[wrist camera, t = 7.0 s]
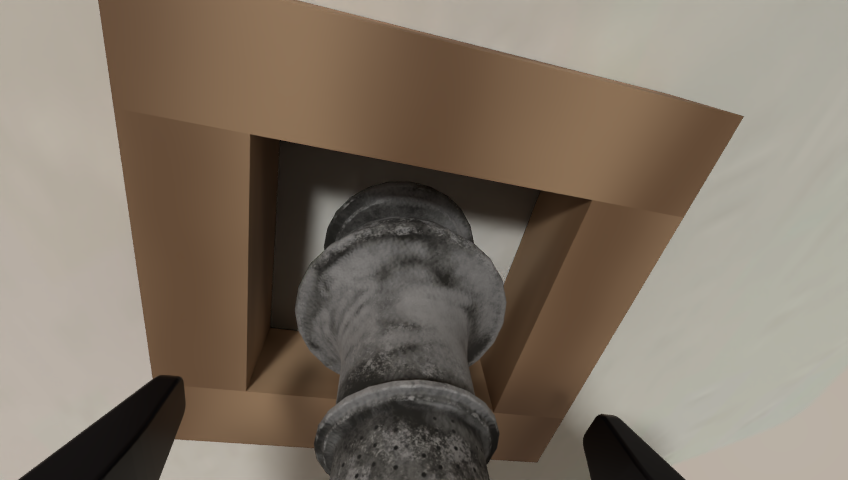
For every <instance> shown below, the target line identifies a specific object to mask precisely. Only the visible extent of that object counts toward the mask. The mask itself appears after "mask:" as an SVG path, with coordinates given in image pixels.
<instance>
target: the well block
mask: <svg viewBox="0 0 848 480" xmlns="http://www.w3.org/2000/svg"><path fill="white" fill-rule="evenodd" d="M98 2H99V9H100V16H101V23H102V30H103V37H104V44H105V51H106V58H107V65H108V71H109V78H110V85H111V92H112V99H113V106H114V113H115V120H116V127H117V134H118V141H119V148H120V155H121V162H122V169H123V176H124V182H125V189H126V196H127V203H128V210H129V217H130V224H131V231H132V238H133V245H134V252H135V259H136V266H137V273H138V280H139V287H140V294H141V300H142V307H143V314H144V321H145V328H146V335H147V342H148V349H149V356H150V363H151V370H152V377H153V379H154V378H155V377H157V376H159V375H173V376H180V377H182V378H183V381H184V389H185V400H186V407H185V412H184V416H183V418H182V421H181V424H180V426H179V429H178V431H177V434H176V437H175V439H180V440H195V441H211V442H226V443H242V444H258V445H273V446H289V447H304V448H314V440H315V436H316V432H317V428H318V424H319V423H320V422H321V420H322V419H323V418H324V416H325V415H326V413H327V412H328V411H329V410H330V409H331V408H332V407H334V406H335V405H336V399H337V392H338V385H339V377H340V375H339V374H337V373H336V372H334V371H332V370H331V369H329V368H327V367H326V366H325V365H324V364H323V363H322V362H321V361H320V360H319V359H318V358H317V357H315V356H314V355H313V354H312V353H311V352H310V351H309V349H308V347H307V345H306V344H305V342H304V340H303V338H302V336H301V335H300V333H299V331H293V330H284V329H276V328H270V322H271V303H272V283H273V264H274V245H275V226H276V206H277V187H278V168H279V149H280V140H283V141H288V142H294V143H299V144H304V145H309V146H314V147H320V148H325V149H330V150H335V151H340V152H345V153H351V154H356V155H361V156H366V157H371V158H377V159H382V160H387V161H392V162H397V163H403V164H408V165H413V166H418V167H423V168H429V169H434V170H439V171H444V172H449V173H455V174H460V175H465V176H470V177H475V178H481V179H486V180H491V181H496V182H501V183H507V184H512V185H517V186H522V187H527V188H532V189H538V190H541V191H540V194H539V197H538V199H537V202H536V204H535V207H534V209H533V212H532V214H531V217H530V220H529V222H528V225H527V227H526V230H525V232H524V235H523V237H522V240H521V242H520V245H519V248H518V250H517V253H516V255H515V258H514V260H513V263H512V265H511V268H510V270H509V273H508V276H507V278H506V281H505V283H504V291H505V296H506V302H507V303H506V310H505V317H504V323H503V325H502V327H501V329H500V332H499V334H498V336H497V338H496V340H495V342H494V343H493V344H492V346H491V347H490V348H489V349H488V350H487V351H486V352H485V354H484V355H483V356H482V357H481V358H480V359H479V360H478V361H477V362H475V363H474V364H472V365H471V366H470V367H469V370H470V374H471V379H472V383H473V388H474V392H475V396H476V397H478V398H479V399H481V400H482V401H484V402H485V403H486V405H487V406H488V407H489V409H490V410H491V411H492V412H493V414H494V415H495V418H496V422H497V426H498V429H499V433H500V434H499V440H498V446H497V449H496V451H495V453H494V454H493V456H492V458H491V460H507V461H522V462H538V460H539V458H540V457H541V455H542V453H543V452H544V450H545V448H546V447H547V445H548V443H549V442H550V440H551V438H552V437H553V435H554V433H555V432H556V430H557V428H558V427H559V425H560V423H561V422H562V420H563V418H564V417H565V415H566V413H567V412H568V410H569V408H570V407H571V405H572V403H573V402H574V400H575V398H576V397H577V395H578V393H579V392H580V390H581V388H582V387H583V385H584V383H585V382H586V380H587V378H588V376H589V375H590V373H591V371H592V370H593V368H594V366H595V365H596V363H597V361H598V360H599V358H600V356H601V355H602V353H603V351H604V350H605V348H606V346H607V345H608V343H609V341H610V340H611V338H612V336H613V335H614V333H615V331H616V330H617V328H618V326H619V325H620V323H621V321H622V320H623V318H624V316H625V315H626V313H627V311H628V310H629V308H630V306H631V305H632V303H633V301H634V300H635V298H636V296H637V294H638V293H639V291H640V289H641V288H642V286H643V284H644V283H645V281H646V279H647V278H648V276H649V274H650V273H651V271H652V269H653V268H654V266H655V264H656V263H657V261H658V259H659V258H660V256H661V254H662V253H663V251H664V249H665V248H666V246H667V244H668V243H669V241H670V239H671V238H672V236H673V234H674V233H675V231H676V229H677V228H678V226H679V224H680V223H681V221H682V219H683V218H684V216H685V214H686V212H687V211H688V209H689V207H690V206H691V204H692V202H693V201H694V199H695V197H696V196H697V194H698V192H699V191H700V189H701V187H702V186H703V184H704V182H705V181H706V179H707V177H708V176H709V174H710V172H711V171H712V169H713V167H714V166H715V164H716V162H717V161H718V159H719V157H720V156H721V154H722V152H723V151H724V149H725V147H726V146H727V144H728V142H729V141H730V139H731V137H732V136H733V134H734V132H735V130H736V129H737V127H738V125H739V124H740V122H741V120H742V119H743V117H744V116H741V115H737V114H734V113H731V112H727V111H724V110H720V109H717V108H714V107H710V106H707V105H703V104H700V103H697V102H693V101H690V100H686V99H683V98H680V97H676V96H673V95H669V94H666V93H662V92H658V91H654V90H650V89H646V88H642V87H638V86H634V85H630V84H626V83H622V82H618V81H614V80H610V79H606V78H602V77H598V76H594V75H590V74H587V73H583V72H579V71H575V70H571V69H567V68H563V67H559V66H555V65H551V64H547V63H543V62H539V61H535V60H531V59H527V58H523V57H519V56H515V55H511V54H507V53H503V52H500V51H496V50H492V49H488V48H484V47H480V46H476V45H472V44H468V43H464V42H460V41H456V40H452V39H448V38H444V37H440V36H436V35H432V34H428V33H424V32H420V31H416V30H412V29H409V28H405V27H401V26H397V25H393V24H389V23H385V22H381V21H377V20H373V19H369V18H365V17H361V16H357V15H353V14H349V13H345V12H341V11H337V10H333V9H329V8H325V7H322V6H318V5H314V4H310V3H306V2H302V1H298V0H98Z"/></svg>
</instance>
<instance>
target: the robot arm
mask: <svg viewBox="0 0 848 480" xmlns="http://www.w3.org/2000/svg"><path fill="white" fill-rule="evenodd" d="M185 407H186V400H185V389H184V381H183V378H182V377H180V376H173V375H159V376H157V377H155V378H154V379H152V380H151V381H150V382H148V383H147V384H146V385H144V386H143V387H142V388H140V389H139V390H137V391H136V392H135V393H133V394H132V395H131V396H129V397H128V398H127V399H125V400H124V401H123V402H121V403H120V404H119V405H117V406H116V407H115V408H113V409H112V410H111V411H109V412H108V413H107V414H105V415H104V416H103V417H101V418H100V419H99V420H97V421H96V422H95V423H93V424H92V425H91V426H89V427H88V428H87V429H85V430H84V431H83V432H81V433H80V434H79V435H77V436H76V437H75V438H73V439H72V440H71V441H69V442H68V443H67V444H65V445H64V446H63V447H61V448H60V449H59V450H57V451H56V452H55V453H53V454H52V455H51V456H49V457H48V458H47V459H45V460H44V461H43V462H41V463H40V464H39V465H37V466H36V467H35V468H33V469H32V470H31V471H29V472H28V473H27V474H25V475H24V476H23V477H21V478H20V479H19V480H159V478H160V476H161V473H162V470H163V468H164V465H165V463H166V460H167V457H168V455H169V452H170V450H171V447H172V444H173V442H174V439H175V437H176V434H177V431H178V429H179V426H180V424H181V421H182V418H183V416H184V412H185ZM583 446H584V451H585V455H586V459H587V464H588V468H589V472H590V477H591V480H685V479H684V478H683V477H682V476H681V475H680V474H679V473H678V472H677V471H676V470H674V469H673V468H672V467H671V466H670V465H669V464H668V463H667V462H666V461H665V460H664V459H663V458H662V457H661V456H659V455H658V454H657V453H656V452H655V451H654V450H653V449H652V448H651V447H650V446H649V445H648V444H647V443H645V442H644V441H643V440H642V439H641V438H640V437H639V436H638V435H637V434H636V433H635V432H634V431H633V430H632V429H630V428H629V427H628V426H627V425H626V424H625V423H624V422H623V421H622V420H621V419H620V418H618V417H617V416H614V415H606V414H600V415H598V416H596V418H595V419H594V421H593V422H592V424H591V425H590V427H589V428H588V430H587V431H586V433H585V435H584V438H583Z"/></svg>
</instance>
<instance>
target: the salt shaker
mask: <svg viewBox="0 0 848 480" xmlns="http://www.w3.org/2000/svg"><path fill="white" fill-rule="evenodd" d="M506 303H507V302H506V296H505V291H504V286H503V281H502V278H501V277H500V275H499V273H498V271H497V270H496V268H495V266H494V264H493V263H492V261H491V259H490V258H489V257H488V256H487V255H486V254H485V253H484V252H482V251H481V250H480V249H479V248H478V247H477V246H476V245H475V244H474V241H473V236H472V232H471V227H470V224H469V223H468V221H467V219H466V217H465V216H464V214H463V212H462V210H461V209H460V208H459V207H458V206H457V205H456V204H455V203H454V202H453V201H452V200H451V199H450V198H449V197H448V196H446V195H444V194H442V193H440V192H438V191H436V190H435V189H433V188H431V187H428V186H424V185H420V184H415V183H411V182H388V183H384V184H380V185H376V186H373V187H369V188H367V189H365V190H363V191H361V192H360V193H358V194H356V195H354V196H352V197H351V198H349V199H348V200H347V201H346V202H345V203H344V204H343V205H342V206H341V207H340V208H339V209H338V210H337V211H336V213H335V215H334V217H333V219H332V221H331V223H330V224H329V226H328V229H327V233H326V239H325V244H324V251H323V252H322V253H321V254H320V255H319V256H318V257H317V258H316V259H315V260H314V261H313V262H312V263H311V264H310V266H309V268H308V270H307V272H306V273H305V275H304V277H303V279H302V281H301V283H300V284H299V287H298V293H297V299H296V305H295V314H296V319H297V325H298V330H299V333H300V335H301V336H302V338H303V340H304V342H305V344H306V345H307V347H308V349H309V351H310V352H311V353H312V354H313V355H314V356H315V357H317V358H318V359H319V360H320V361H321V362H322V363H323V364H324V365H325V366H326V367H327V368H329V369H331V370H332V371H334V372H336V373H337V374H339V375H340V377H339V385H338V392H337V399H336V405H335V406H334V407H332V408H331V409H330V410H329V411H328V412H327V413H326V415H325V416H324V418H323V419H322V420H321V422H320V423H319V424H318V428H317V432H316V436H315V440H314V448H315V453H316V458H317V460H318V462H319V463H320V464H321V466H322V467H323V469H324V470H325V472H326V473H327V474H329V475H330V480H490V479H489V474H488V470H487V464H488V462H489V461H490V459H491V458H492V456H493V454H494V453H495V451H496V449H497V446H498V440H499V434H500V433H499V429H498V426H497V422H496V418H495V415H494V414H493V412H492V411H491V410H490V409H489V407H488V406H487V405H486V403H485V402H484V401H482V400H481V399H479V398H478V397H476V396H475V392H474V388H473V383H472V379H471V374H470V370H469V367H470V366H471V365H472V364H474V363H475V362H477V361H478V360H479V359H480V358H481V357H482V356H483V355H484V354H485V352H486V351H487V350H488V349H489V348H490V347H491V346H492V344H493V343H494V342H495V340H496V338H497V336H498V334H499V332H500V329H501V327H502V325H503V323H504V317H505V310H506Z"/></svg>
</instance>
